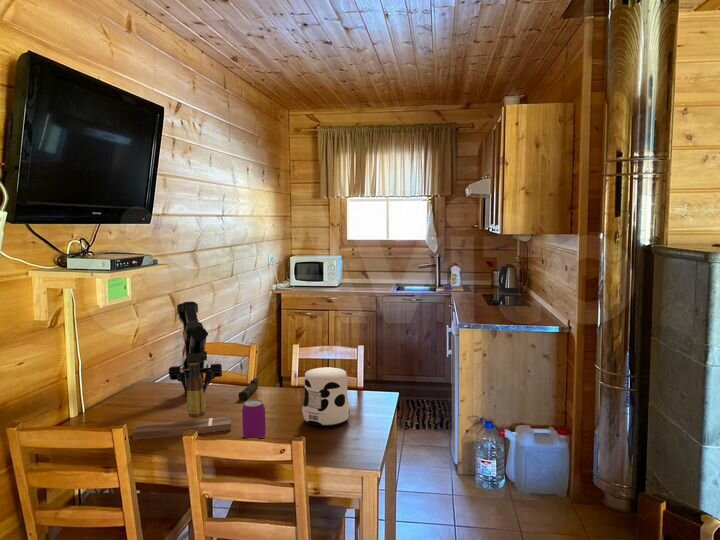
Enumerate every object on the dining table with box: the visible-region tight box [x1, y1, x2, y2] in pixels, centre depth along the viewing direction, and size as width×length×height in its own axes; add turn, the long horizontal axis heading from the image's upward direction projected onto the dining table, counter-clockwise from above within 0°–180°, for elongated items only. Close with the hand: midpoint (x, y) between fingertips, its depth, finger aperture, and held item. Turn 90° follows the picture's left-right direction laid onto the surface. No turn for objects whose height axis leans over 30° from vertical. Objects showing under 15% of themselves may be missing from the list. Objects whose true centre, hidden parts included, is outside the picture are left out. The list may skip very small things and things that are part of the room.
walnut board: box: [132, 416, 232, 441], centre depth 182 cm, size 7×32×3 cm, turn 103°
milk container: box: [301, 366, 351, 427], centre depth 190 cm, size 17×17×18 cm
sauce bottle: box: [186, 362, 206, 419], centre depth 190 cm, size 6×6×20 cm
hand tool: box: [237, 377, 259, 401], centre depth 223 cm, size 19×4×5 cm, turn 170°
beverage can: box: [241, 398, 267, 439], centre depth 177 cm, size 8×8×12 cm
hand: (195, 392), depth 189 cm, fingers closed on sauce bottle, 6 cm apart
